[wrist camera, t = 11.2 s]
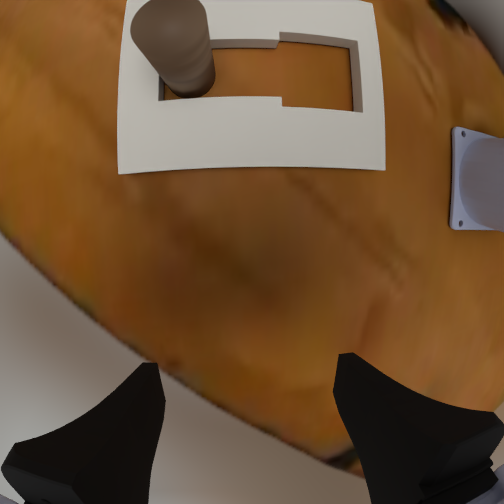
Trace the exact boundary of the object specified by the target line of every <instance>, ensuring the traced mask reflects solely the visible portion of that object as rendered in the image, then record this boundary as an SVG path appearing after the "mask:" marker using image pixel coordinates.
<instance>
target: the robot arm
mask: <svg viewBox="0 0 504 504" xmlns="http://www.w3.org/2000/svg"><path fill="white" fill-rule="evenodd" d="M461 132H462V133H463V137H462V134H461ZM452 148H453V167H452V196H451V211H450V227H451V228H452V229H455V230H498V231H501V232H504V138H497V137H494V136H491V135H487V134H484V133H480V132H477V131H473V130H469V129H466V128H462V127H454V128H453V129H452ZM459 221H460V225H459ZM333 394H334V398H335V402H336V405H337V408H338V412H339V414H340V416H341V418H342V421H343V423H344V425H345V427H346V429H347V432H348V434H349V436H350V438H351V440H352V442H353V445H354V447H355V449H356V451H357V454H358V456H359V459H360V462H361V465H362V469H363V472H364V475H365V479H366V483H367V486H368V490H369V494H370V499H371V503H372V504H504V464H503V465H501V466H500V467H499V468H497V469H496V470H495V471H494V472H493V471H492V469H491V468H490V467H491V466H492V465H493V462H492V460H491V459H490V458H489V457H490V456H491V455H492V453H493V452H494V450H495V449H496V447H497V446H498V444H499V443H500V441H501V439H502V438H503V436H504V424H503V422H502V421H501V420H500V419H499V418H498V417H497V416H496V414H495V413H494V412H487V411H478V410H471V409H465V408H461V407H456V406H452V405H449V404H445V403H442V402H439V401H436V400H433V399H431V398H428V397H426V396H424V395H421V394H419V393H417V392H415V391H413V390H411V389H409V388H407V387H405V386H403V385H402V384H400V383H398V382H396V381H395V380H393V379H391V378H390V377H388V376H387V375H385V374H384V373H382V372H381V371H379V370H378V369H376V368H375V367H373V366H372V365H370V364H369V363H368V362H366V361H365V360H363V359H362V358H361V357H359V356H358V355H356V354H355V353H353V352H352V353H344V354H339V357H338V363H337V370H336V376H335V382H334V388H333ZM165 402H166V400H165V396H164V391H163V387H162V383H161V379H160V373H159V369H158V364H157V363H145V362H143V363H142V364H141V365H140V366H139V367H138V368H137V369H136V370H135V371H134V372H133V373H132V374H131V375H130V376H129V377H128V378H127V379H126V380H125V381H124V382H123V383H122V384H121V385H119V386H118V387H117V388H116V389H115V391H113V392H112V393H111V394H110V395H108V396H107V397H106V398H105V399H104V400H103V401H101V402H100V403H99V404H98V405H97V406H95V407H94V408H92V409H91V410H90V411H88V412H87V413H85V414H84V415H82V416H81V417H79V418H77V419H75V420H74V421H72V422H70V423H68V424H66V425H65V426H63V427H61V428H59V429H56V430H54V431H52V432H49V433H47V434H44V435H42V436H39V437H36V438H33V439H29V440H26V441H22V442H18V443H15V444H14V445H13V447H12V449H11V450H10V452H9V454H8V455H7V457H6V459H5V461H4V463H3V464H2V466H1V471H2V473H3V476H4V477H5V479H6V480H7V481H8V483H9V484H10V485H11V486H12V487H13V488H14V489H15V491H17V493H18V494H19V495H20V496H21V497H22V498H23V499H24V500H25V502H24V504H148V499H149V487H150V477H151V470H152V464H153V460H154V456H155V452H156V448H157V444H158V440H159V436H160V432H161V429H162V424H163V420H164V412H165ZM0 504H18V503H17V502H15V501H13V500H11V499H9V498H7V497H4V496H2V495H1V494H0Z"/></svg>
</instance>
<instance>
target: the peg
mask: <svg viewBox="0 0 504 504" xmlns="http://www.w3.org/2000/svg"><path fill="white" fill-rule="evenodd" d="M130 34H131V38H132V40H133V42H134V43H135V45H136V46H137V47H138V48H139V50H140V51H141V52H142V53H143V55H144V56H145V57H146V59H147V60H148V61H149V62H150V64H151V65H152V66H153V67H154V69H155V70H156V71H157V73H158V74H159V75H160V76H161V78H162V79H163V80H164V82H165V83H166V84H167V86H168V87H169V88H170V89H171V91H172V92H173V93H174V94H176V95H177V96H179V97H182V98H187V99H190V98H197V97H199V96H202V95H203V94H205V93H206V92H208V91H209V89H210V88H211V87H212V85H213V83H214V81H215V68H214V61H213V55H212V48H211V41H210V35H209V28H208V21H207V14H206V10H205V8H204V6H203V5H202V3H201V2H200V1H199V0H150V1H148V2H147V3H145V4H144V5H143V6H142V7H141V8H140V9H139V10H138V11H137V12H136V14H135V15H134V17H133V19H132V22H131V26H130Z"/></svg>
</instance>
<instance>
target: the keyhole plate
mask: <svg viewBox="0 0 504 504" xmlns="http://www.w3.org/2000/svg"><path fill="white" fill-rule="evenodd" d="M148 1H150V0H127V4H126V11H125V18H124V26H123V35H122V44H121V55H120V69H119V86H118V118H117V145H118V174H129V173H140V172H152V171H165V170H180V169H198V168H222V167H328V168H351V169H369V170H385V116H384V98H383V84H382V72H381V62H380V53H379V45H378V37H377V30H376V23H375V17H374V11H373V5H372V3H368V2H363V1H359V0H199V1H200V2H201V3H202V5H203V6H204V8H205V10H206V14H207V21H208V28H209V35H210V41H211V48H276V47H277V45H278V42H279V41H291V42H304V43H314V44H323V45H331V46H338V47H345V48H349V49H350V60H351V72H352V87H353V106H354V112H351V111H342V110H330V109H317V108H301V107H282V97H265V96H237V97H207V98H190V99H177V100H166V101H164V80H163V79H162V78H161V76H160V75H159V74H158V73H157V71H156V70H155V69H154V67H153V66H152V65H151V64H150V62H149V61H148V60H147V59H146V57H145V56H144V55H143V53H142V52H141V51H140V50H139V48H138V47H137V46H136V45H135V43H134V42H133V40H132V38H131V34H130V26H131V22H132V19H133V17H134V15H135V14H136V12H137V11H138V10H139V9H140V8H141V7H142V6H143V5H144V4H145V3H147V2H148Z"/></svg>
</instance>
